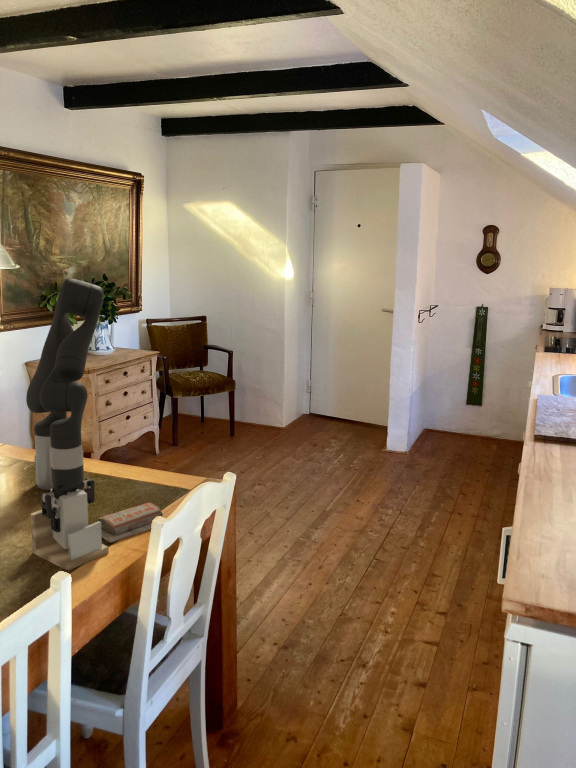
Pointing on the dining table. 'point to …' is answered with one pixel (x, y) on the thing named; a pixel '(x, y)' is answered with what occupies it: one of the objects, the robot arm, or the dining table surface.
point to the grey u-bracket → (55, 544)
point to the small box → (71, 515)
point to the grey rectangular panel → (84, 541)
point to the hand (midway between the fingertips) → (69, 525)
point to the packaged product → (128, 521)
